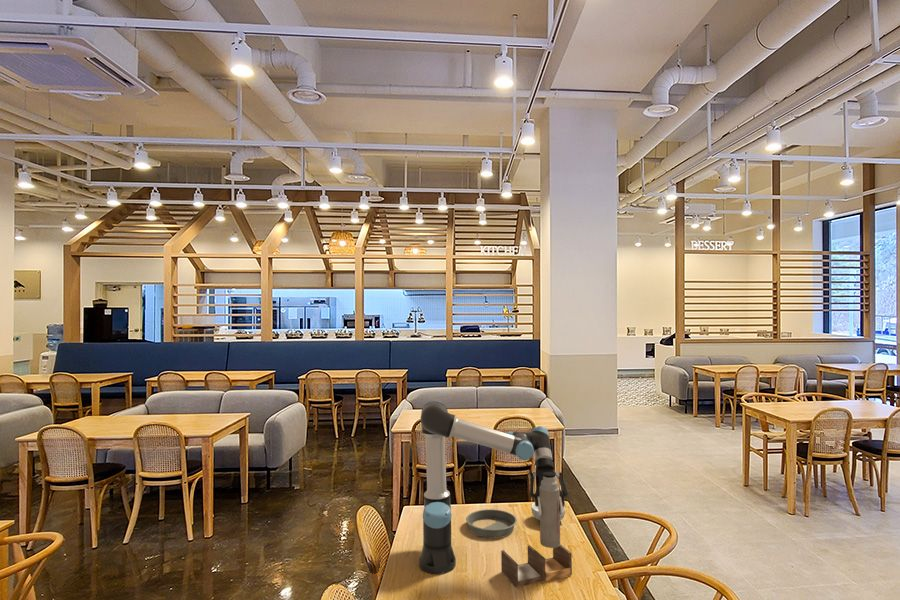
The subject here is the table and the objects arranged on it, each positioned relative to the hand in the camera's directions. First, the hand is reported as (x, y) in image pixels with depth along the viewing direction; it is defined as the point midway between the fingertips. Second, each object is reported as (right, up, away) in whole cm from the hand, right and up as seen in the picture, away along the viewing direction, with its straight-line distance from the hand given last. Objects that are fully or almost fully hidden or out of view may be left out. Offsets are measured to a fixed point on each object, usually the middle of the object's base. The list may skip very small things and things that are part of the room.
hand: (551, 514), depth 196 cm
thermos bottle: (0, -13, +3) cm, 14 cm away
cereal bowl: (+9, -26, +51) cm, 58 cm away
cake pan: (-20, -26, +43) cm, 54 cm away
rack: (-6, -24, +1) cm, 25 cm away
